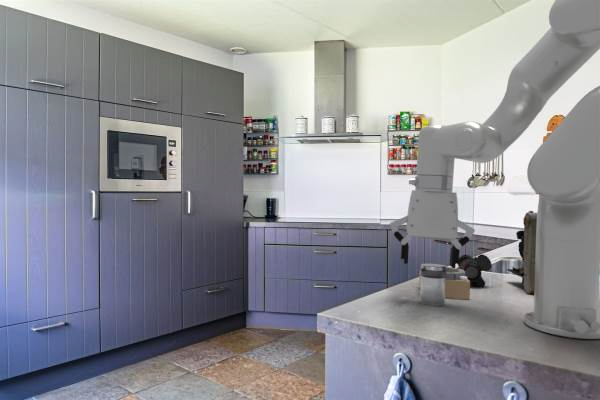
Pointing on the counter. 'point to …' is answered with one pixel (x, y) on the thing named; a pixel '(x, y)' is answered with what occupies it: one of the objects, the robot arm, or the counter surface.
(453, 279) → the mount
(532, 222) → the vintage camera
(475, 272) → the night vision scope
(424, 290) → the lens
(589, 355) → the counter surface
